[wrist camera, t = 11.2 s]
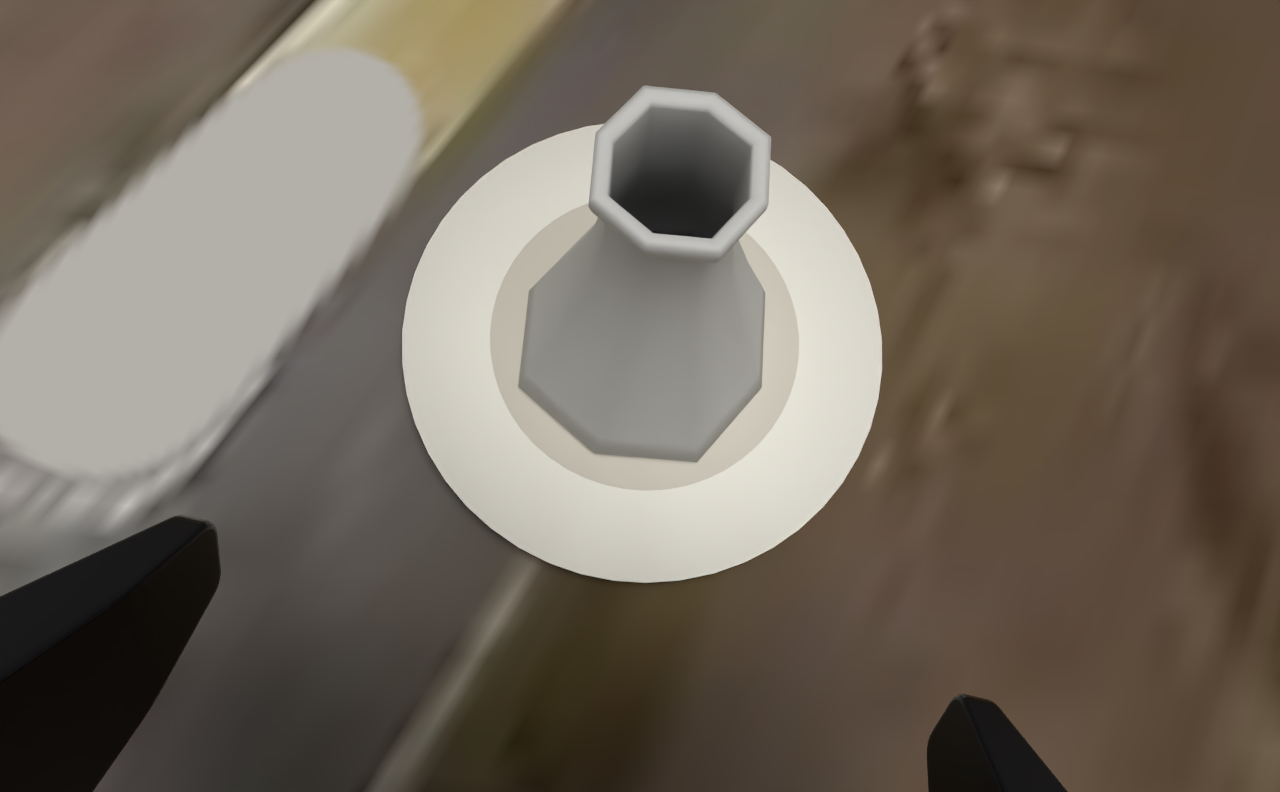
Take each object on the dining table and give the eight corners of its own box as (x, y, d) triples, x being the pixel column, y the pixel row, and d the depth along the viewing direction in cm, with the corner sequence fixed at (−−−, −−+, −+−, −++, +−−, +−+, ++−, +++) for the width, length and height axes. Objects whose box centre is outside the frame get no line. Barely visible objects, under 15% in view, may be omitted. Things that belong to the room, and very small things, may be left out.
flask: (579, 190, 24) (572, -73, 15) (802, 282, 24) (944, 76, 14) (475, 405, 23) (390, 267, 13) (714, 506, 22) (808, 442, 13)
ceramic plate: (598, 688, 22) (598, 693, 21) (317, 300, 24) (304, 287, 23) (963, 391, 25) (979, 382, 24) (681, 63, 27) (685, 42, 26)
